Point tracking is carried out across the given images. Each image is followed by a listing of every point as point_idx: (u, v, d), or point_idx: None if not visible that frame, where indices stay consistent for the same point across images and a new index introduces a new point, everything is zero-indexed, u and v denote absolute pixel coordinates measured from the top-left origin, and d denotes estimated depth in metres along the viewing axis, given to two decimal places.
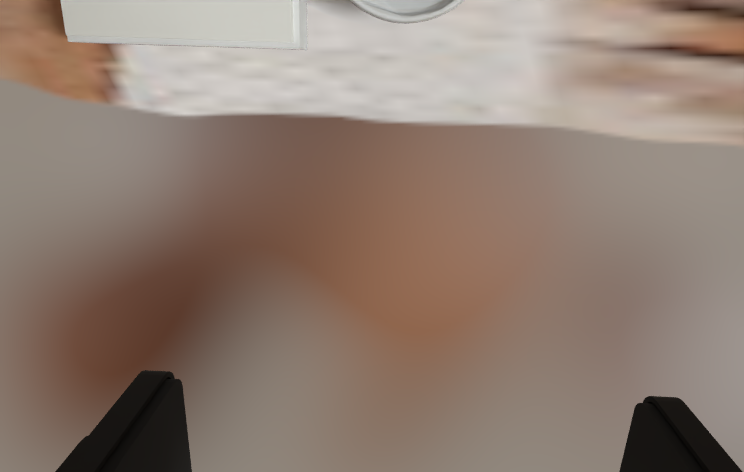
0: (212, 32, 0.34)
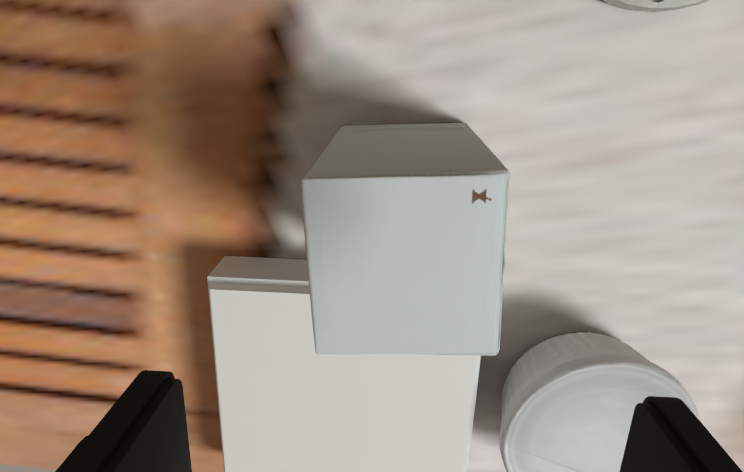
0: None
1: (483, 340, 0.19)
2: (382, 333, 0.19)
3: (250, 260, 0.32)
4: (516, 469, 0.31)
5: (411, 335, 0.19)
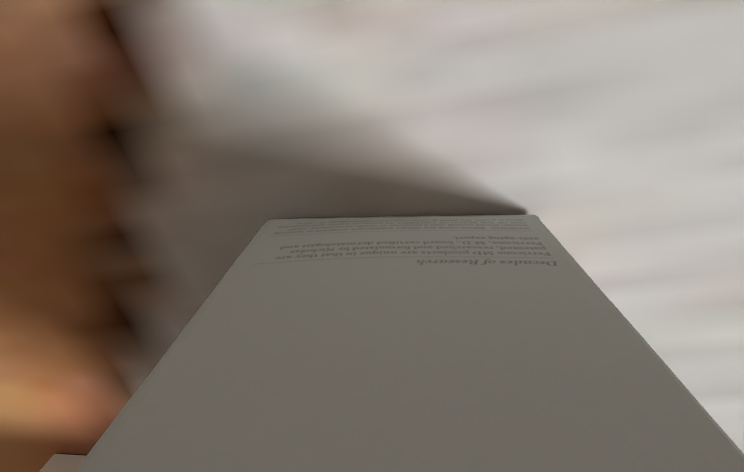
0: None
1: None
2: None
3: None
4: None
5: None
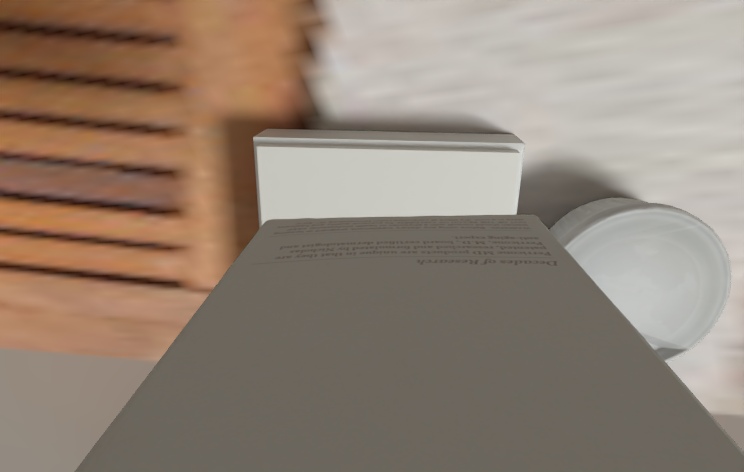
0: None
1: None
2: None
3: (291, 130, 0.33)
4: None
5: None
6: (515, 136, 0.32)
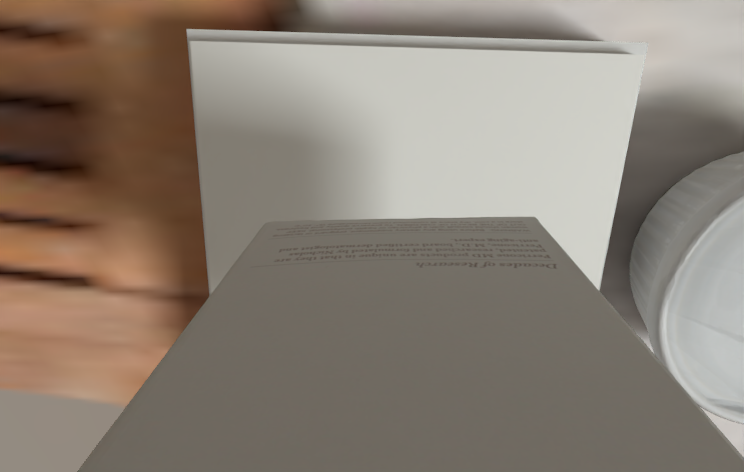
0: None
1: None
2: None
3: None
4: (676, 351, 0.19)
5: None
6: None
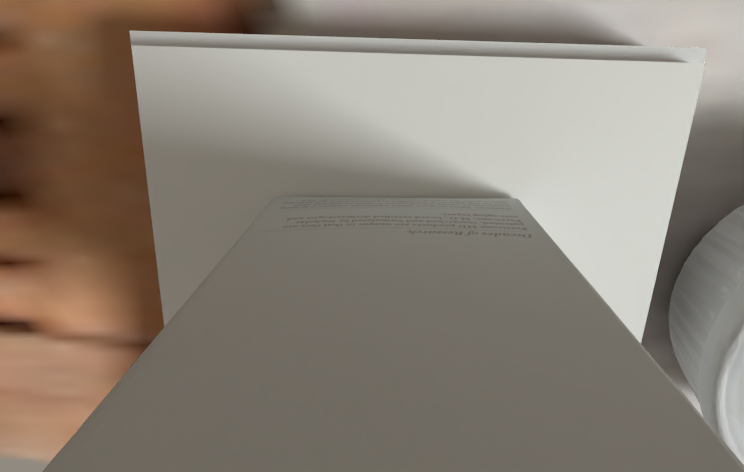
0: None
1: None
2: None
3: None
4: (735, 425, 0.16)
5: None
6: None
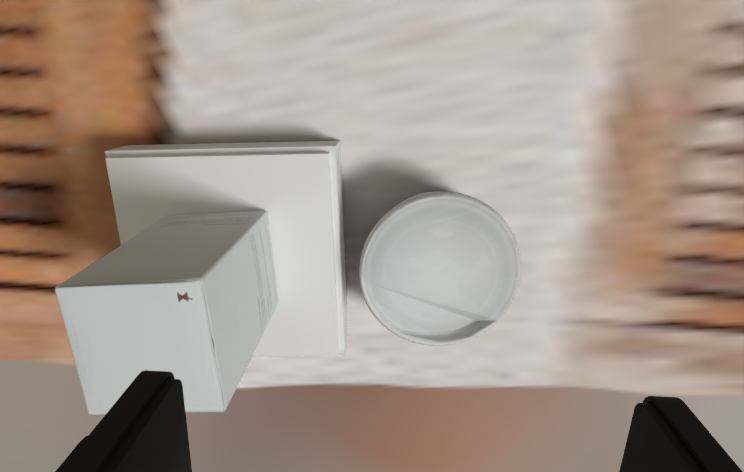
0: (269, 351, 0.39)
1: (210, 400, 0.25)
2: None
3: (147, 145, 0.38)
4: (375, 304, 0.36)
5: None
6: (337, 141, 0.37)
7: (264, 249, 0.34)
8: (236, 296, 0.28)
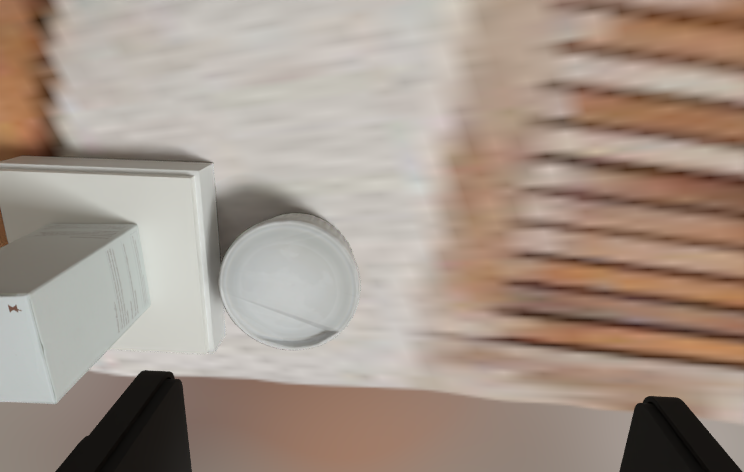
0: (144, 346, 0.43)
1: (43, 394, 0.30)
2: None
3: (39, 157, 0.42)
4: (234, 311, 0.41)
5: None
6: (208, 164, 0.41)
7: (129, 260, 0.38)
8: (79, 305, 0.32)
